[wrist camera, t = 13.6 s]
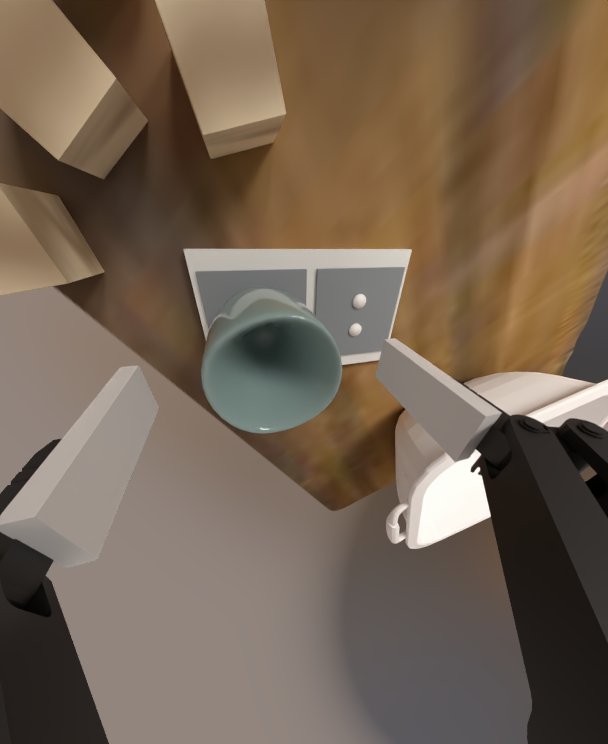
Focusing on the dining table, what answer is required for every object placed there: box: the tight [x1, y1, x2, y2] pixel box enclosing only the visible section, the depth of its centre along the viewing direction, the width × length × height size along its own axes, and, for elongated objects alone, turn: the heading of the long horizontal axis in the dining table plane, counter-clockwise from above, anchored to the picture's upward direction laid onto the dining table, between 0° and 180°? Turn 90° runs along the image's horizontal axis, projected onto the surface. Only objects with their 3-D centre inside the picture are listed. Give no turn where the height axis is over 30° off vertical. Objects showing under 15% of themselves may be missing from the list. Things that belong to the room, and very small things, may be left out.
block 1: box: [0, 0, 148, 179], centre depth 10 cm, size 4×4×4 cm
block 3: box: [155, 0, 286, 159], centre depth 12 cm, size 4×4×4 cm
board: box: [183, 249, 412, 365], centre depth 22 cm, size 12×20×1 cm, turn 89°
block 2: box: [0, 183, 105, 296], centre depth 13 cm, size 4×4×4 cm
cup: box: [201, 286, 342, 434], centre depth 16 cm, size 8×8×10 cm
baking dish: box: [386, 372, 608, 549], centre depth 34 cm, size 34×28×13 cm
